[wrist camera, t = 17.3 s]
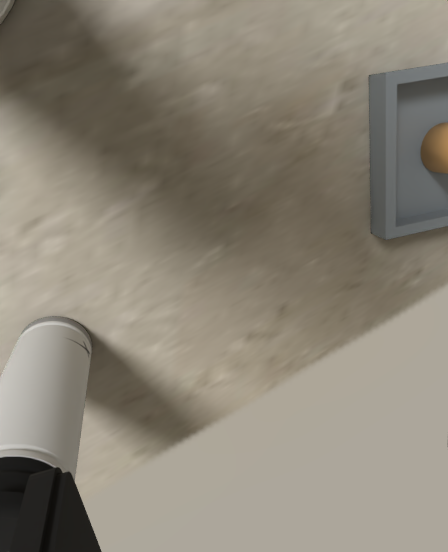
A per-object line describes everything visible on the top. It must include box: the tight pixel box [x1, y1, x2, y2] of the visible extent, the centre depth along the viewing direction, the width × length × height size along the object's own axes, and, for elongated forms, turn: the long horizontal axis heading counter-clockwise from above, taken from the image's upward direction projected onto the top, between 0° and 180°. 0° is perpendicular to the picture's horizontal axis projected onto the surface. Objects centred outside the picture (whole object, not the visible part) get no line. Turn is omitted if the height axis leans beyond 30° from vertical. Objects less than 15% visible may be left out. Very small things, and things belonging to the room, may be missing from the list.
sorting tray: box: [369, 63, 448, 240], centre depth 38 cm, size 14×14×2 cm
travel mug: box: [0, 316, 92, 552], centre depth 29 cm, size 6×7×20 cm
